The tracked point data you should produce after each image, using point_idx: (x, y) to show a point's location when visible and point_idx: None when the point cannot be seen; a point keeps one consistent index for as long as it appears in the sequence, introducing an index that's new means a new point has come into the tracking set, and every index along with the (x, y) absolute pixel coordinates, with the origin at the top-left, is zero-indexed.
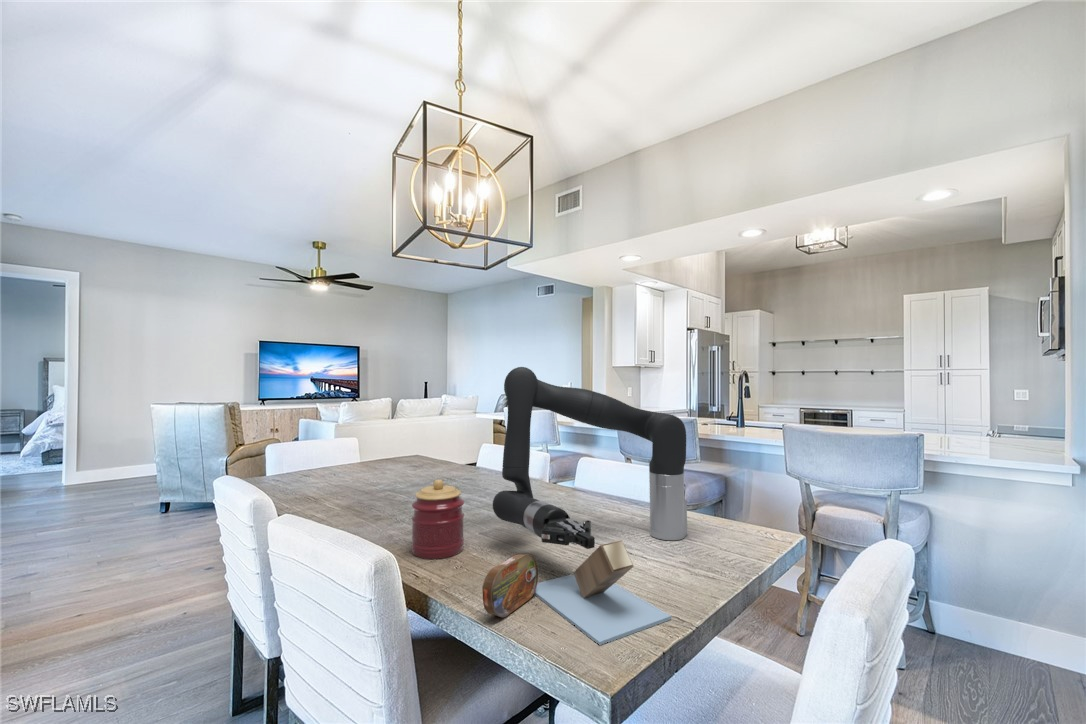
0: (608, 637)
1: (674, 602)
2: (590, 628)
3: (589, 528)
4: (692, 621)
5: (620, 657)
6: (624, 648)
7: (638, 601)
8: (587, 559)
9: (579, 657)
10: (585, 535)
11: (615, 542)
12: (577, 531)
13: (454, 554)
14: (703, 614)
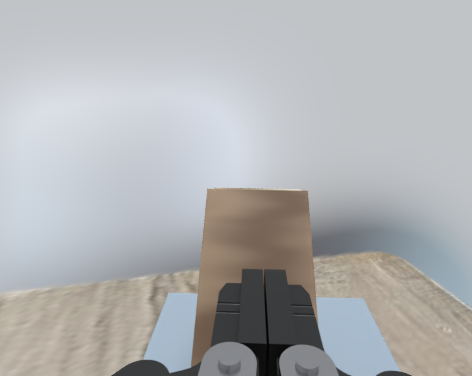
0: (338, 299)
1: (82, 333)
2: (363, 333)
3: (134, 365)
4: (145, 282)
5: (339, 277)
6: (320, 286)
7: (161, 360)
8: (315, 310)
9: (414, 300)
10: (273, 293)
11: (238, 190)
12: (284, 361)
13: None
14: (103, 285)
